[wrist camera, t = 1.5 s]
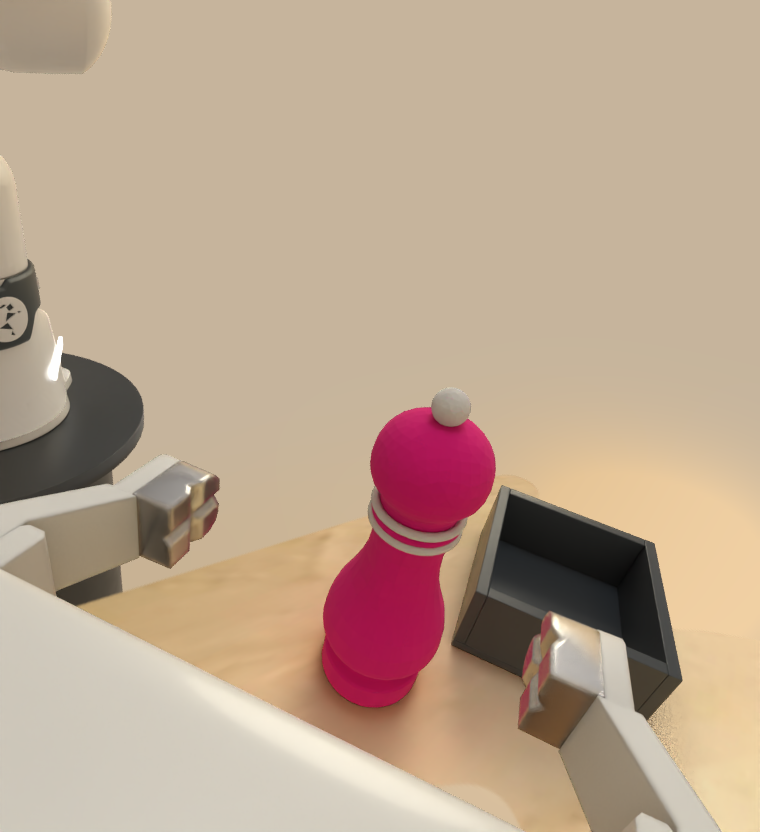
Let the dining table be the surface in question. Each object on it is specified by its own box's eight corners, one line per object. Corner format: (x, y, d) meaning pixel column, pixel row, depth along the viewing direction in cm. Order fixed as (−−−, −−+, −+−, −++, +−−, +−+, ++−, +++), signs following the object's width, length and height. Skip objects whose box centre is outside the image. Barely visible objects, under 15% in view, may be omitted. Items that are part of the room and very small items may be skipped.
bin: (451, 644, 34) (475, 591, 31) (481, 532, 44) (501, 484, 42) (638, 731, 31) (683, 681, 28) (623, 589, 42) (654, 543, 39)
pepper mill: (407, 608, 36) (496, 361, 26) (438, 710, 30) (568, 441, 20) (308, 613, 34) (362, 347, 24) (320, 724, 28) (398, 432, 18)
